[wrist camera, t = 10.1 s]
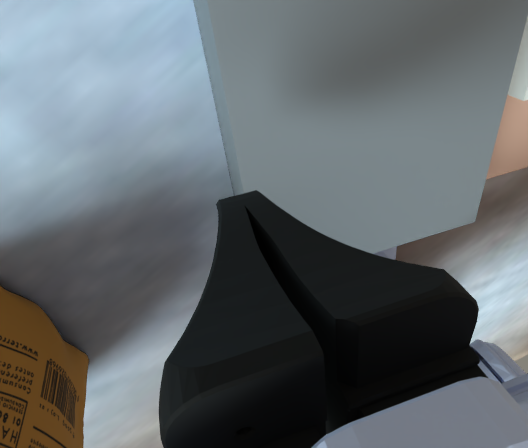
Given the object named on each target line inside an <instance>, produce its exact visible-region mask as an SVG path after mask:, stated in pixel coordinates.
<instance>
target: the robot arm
mask: <svg viewBox="0 0 528 448" xmlns="http://www.w3.org/2000/svg"><path fill="white" fill-rule="evenodd" d="M216 205H217V209H218V217H219V220H218V235H217V243H216V248H215V253H214V259H213V263H212V267H211V270H210V274H209V277H208V280H207V283H206V286H205V288H204V291H203V294H202V296H201V299H200V301H199V303H198V306H197V308H196V310H195V312H194V314H193V316H192V318H191V320H190V322H189V324H188V326H187V328H186V330H185V331H184V333H183V335H182V337H181V338H180V340H179V341H178V343H177V344H176V346H175V347H174V349H173V351H172V352H171V354H170V355H169V357H168V358H167V360H166V361H165V364H164V369H163V375H162V381H161V388H160V398H159V423H160V435H161V441H162V444H163V447H164V448H528V373H527V374H526V373H525V372H524V371H523V370H522V369H521V368H520V367H519V366H518V365H517V364H516V363H515V362H514V361H513V360H512V359H511V358H510V357H509V356H508V355H507V354H506V353H505V352H504V351H503V350H502V349H501V348H499V347H498V346H497V345H495V344H493V343H488V342H483V341H481V340H475V341H474V342H473V343H471V344H470V341H471V338H472V335H473V332H474V329H475V326H476V322H477V317H478V310H479V308H478V305H477V302H476V300H475V299H474V298H473V297H472V296H471V295H470V294H469V293H468V292H467V291H466V290H465V289H464V288H463V287H462V286H461V285H460V284H459V283H458V281H456V280H455V279H454V278H453V277H452V276H451V275H449V274H448V273H447V272H446V271H445V270H444V269H438V268H433V267H427V266H421V265H416V264H410V263H405V262H401V261H397V260H395V259H396V250H397V246H396V247H393V248H389V249H386V250H383V251H380V252H377V253H373V254H372V253H369V252H366V251H363V250H360V249H357V248H354V247H351V246H349V245H346V244H344V243H341V242H339V241H337V240H335V239H332V238H330V237H328V236H326V235H324V234H322V233H320V232H318V231H316V230H314V229H313V228H311V227H309V226H307V225H306V224H304V223H302V222H301V221H299V220H298V219H296V218H295V217H293V216H292V215H290V214H289V213H287V212H286V211H284V210H283V209H281V208H280V207H279V206H277V205H276V204H275V203H273V202H272V201H271V200H269V199H268V198H267V197H266V196H264V195H263V194H262V193H260V192H259V191H257V190H255V191H251V192H247V193H243V194H240V195H236V196H232V197H229V198H225V199H221V200H219V201H218V202H217V204H216ZM469 344H470V345H469ZM326 434H327V435H326Z"/></svg>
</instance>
